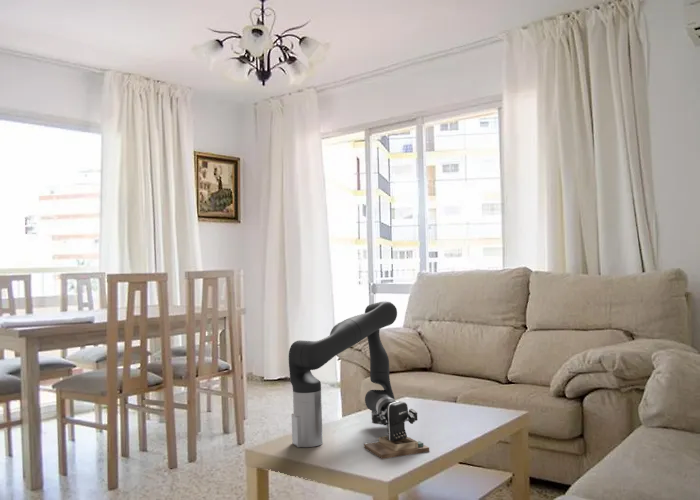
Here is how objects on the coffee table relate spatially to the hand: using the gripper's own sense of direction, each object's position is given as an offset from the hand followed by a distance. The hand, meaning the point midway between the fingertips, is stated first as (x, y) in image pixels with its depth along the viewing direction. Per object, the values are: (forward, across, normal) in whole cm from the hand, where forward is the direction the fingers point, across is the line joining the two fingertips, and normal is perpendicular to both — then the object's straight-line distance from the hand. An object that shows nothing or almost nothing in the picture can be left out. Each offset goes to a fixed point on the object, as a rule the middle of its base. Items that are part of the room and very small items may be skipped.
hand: (398, 421), depth 193 cm
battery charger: (-2, 0, +6) cm, 7 cm away
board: (-1, -1, +9) cm, 9 cm away
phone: (-40, +5, +10) cm, 41 cm away
